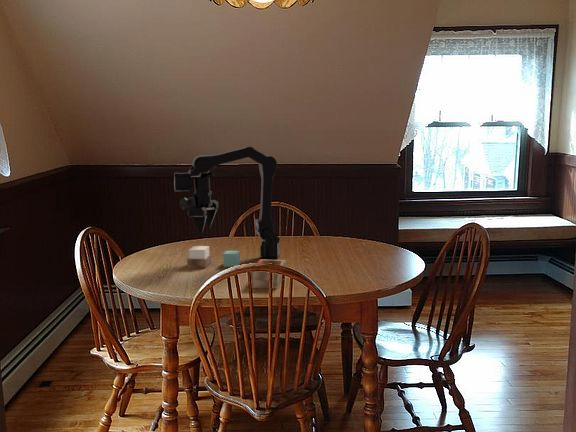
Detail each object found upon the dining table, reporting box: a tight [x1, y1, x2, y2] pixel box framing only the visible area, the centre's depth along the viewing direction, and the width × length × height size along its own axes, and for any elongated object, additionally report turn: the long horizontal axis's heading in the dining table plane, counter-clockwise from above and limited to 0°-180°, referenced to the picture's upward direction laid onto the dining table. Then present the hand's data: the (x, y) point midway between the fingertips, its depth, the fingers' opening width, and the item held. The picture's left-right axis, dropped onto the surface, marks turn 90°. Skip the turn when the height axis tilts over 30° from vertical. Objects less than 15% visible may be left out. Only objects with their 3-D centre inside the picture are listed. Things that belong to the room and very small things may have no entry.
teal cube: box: [222, 250, 241, 268], centre depth 224 cm, size 5×5×5 cm
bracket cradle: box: [251, 258, 287, 290], centre depth 202 cm, size 9×16×6 cm, turn 170°
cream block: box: [188, 245, 210, 259], centre depth 223 cm, size 6×6×4 cm
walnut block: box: [186, 254, 212, 269], centre depth 224 cm, size 7×7×4 cm
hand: (204, 230), depth 226 cm, fingers open, 9 cm apart
